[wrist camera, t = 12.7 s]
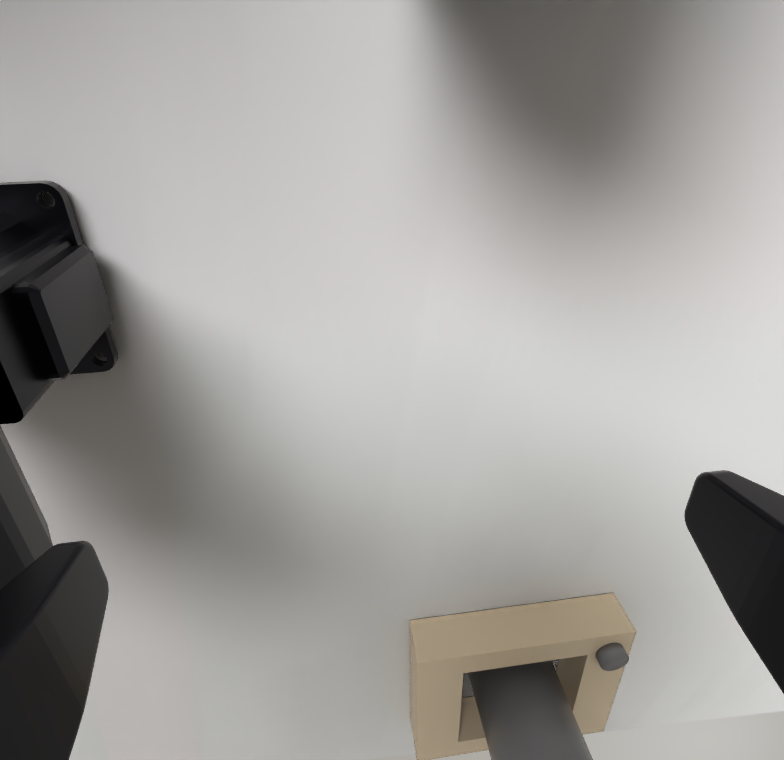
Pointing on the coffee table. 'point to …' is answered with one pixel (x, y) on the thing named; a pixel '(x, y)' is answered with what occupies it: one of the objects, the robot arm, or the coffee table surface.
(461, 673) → the tan square frame
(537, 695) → the canister
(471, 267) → the coffee table surface
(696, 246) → the coffee table surface
